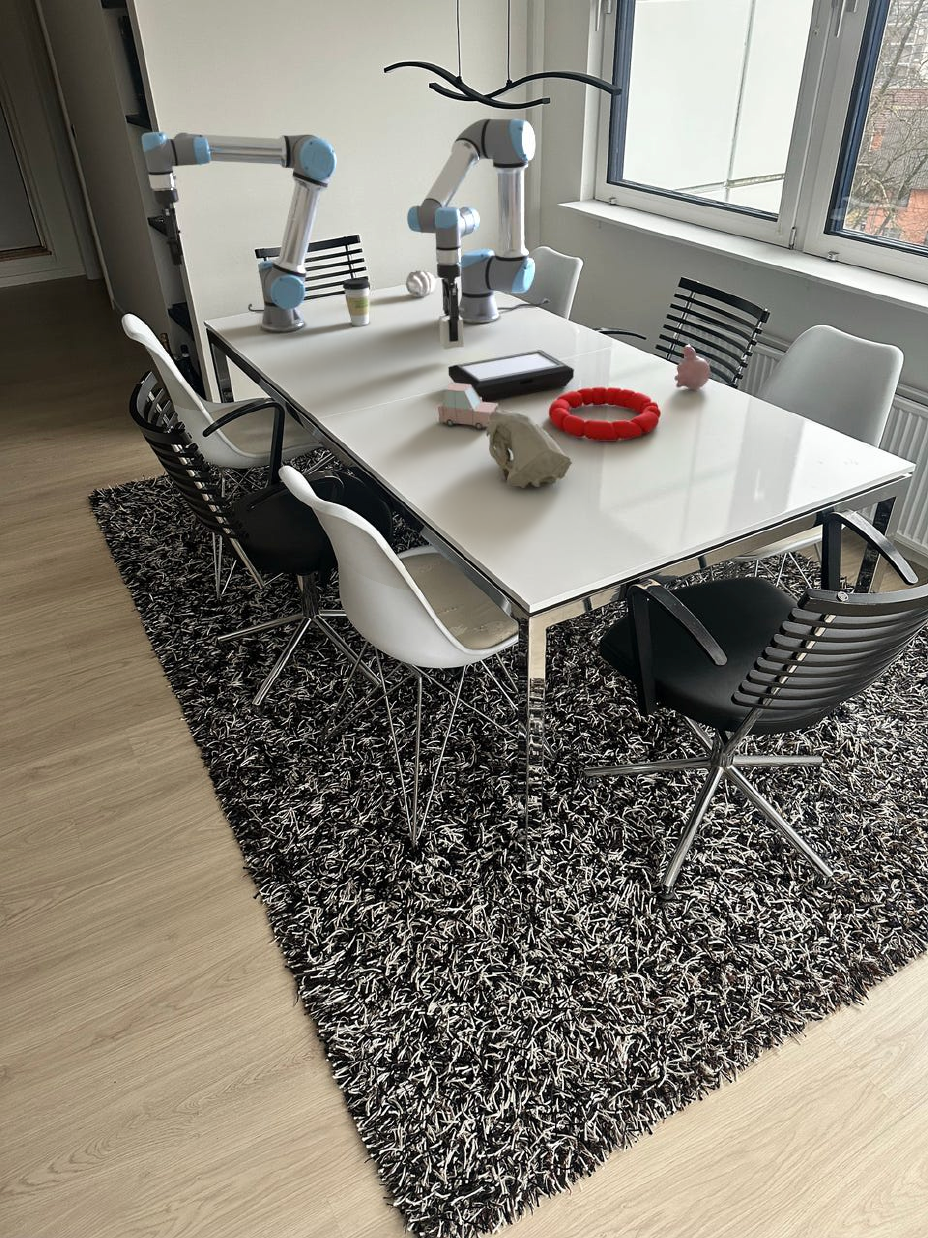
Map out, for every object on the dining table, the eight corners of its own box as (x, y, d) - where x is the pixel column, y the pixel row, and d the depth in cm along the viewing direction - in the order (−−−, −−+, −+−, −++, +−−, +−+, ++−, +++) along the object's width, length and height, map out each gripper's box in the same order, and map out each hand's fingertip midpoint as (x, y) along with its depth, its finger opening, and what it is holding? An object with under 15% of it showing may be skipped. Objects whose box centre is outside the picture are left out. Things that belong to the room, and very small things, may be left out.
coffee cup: (372, 326, 323) (368, 283, 314) (345, 327, 323) (340, 284, 315) (374, 318, 331) (371, 276, 322) (348, 319, 331) (344, 277, 323)
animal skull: (496, 517, 219) (521, 479, 201) (463, 429, 225) (484, 384, 207) (557, 503, 225) (586, 465, 206) (523, 417, 231) (549, 373, 212)
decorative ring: (589, 435, 224) (684, 402, 234) (527, 398, 247) (617, 369, 256) (589, 461, 229) (683, 427, 238) (529, 422, 251) (617, 393, 260)
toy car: (488, 432, 240) (488, 396, 234) (436, 426, 244) (434, 390, 239) (499, 419, 247) (499, 384, 241) (448, 413, 252) (447, 379, 246)
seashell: (399, 296, 356) (397, 270, 350) (432, 290, 362) (431, 264, 356) (410, 301, 348) (409, 275, 343) (444, 295, 354) (443, 269, 349)
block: (443, 348, 285) (442, 321, 280) (440, 343, 289) (439, 316, 284) (463, 346, 286) (462, 319, 281) (459, 341, 290) (459, 314, 285)
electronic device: (476, 384, 253) (448, 364, 268) (476, 405, 256) (449, 384, 271) (574, 366, 263) (541, 347, 278) (573, 386, 266) (541, 367, 281)
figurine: (665, 387, 264) (669, 347, 257) (693, 380, 268) (698, 340, 261) (686, 396, 257) (690, 355, 250) (714, 388, 262) (720, 348, 255)
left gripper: (175, 194, 269) (189, 267, 281) (177, 181, 289) (190, 250, 301) (149, 195, 268) (165, 269, 280) (153, 183, 288) (167, 252, 300)
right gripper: (467, 268, 266) (469, 345, 279) (454, 254, 281) (457, 328, 294) (442, 270, 265) (446, 348, 278) (431, 256, 280) (434, 330, 293)
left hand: (178, 259), depth 290 cm, fingers open, 13 cm apart
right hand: (451, 337), depth 286 cm, fingers closed on block, 6 cm apart
